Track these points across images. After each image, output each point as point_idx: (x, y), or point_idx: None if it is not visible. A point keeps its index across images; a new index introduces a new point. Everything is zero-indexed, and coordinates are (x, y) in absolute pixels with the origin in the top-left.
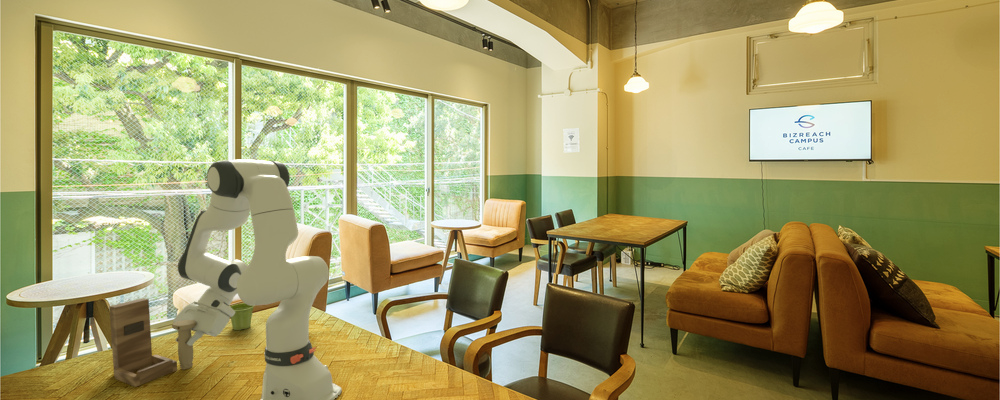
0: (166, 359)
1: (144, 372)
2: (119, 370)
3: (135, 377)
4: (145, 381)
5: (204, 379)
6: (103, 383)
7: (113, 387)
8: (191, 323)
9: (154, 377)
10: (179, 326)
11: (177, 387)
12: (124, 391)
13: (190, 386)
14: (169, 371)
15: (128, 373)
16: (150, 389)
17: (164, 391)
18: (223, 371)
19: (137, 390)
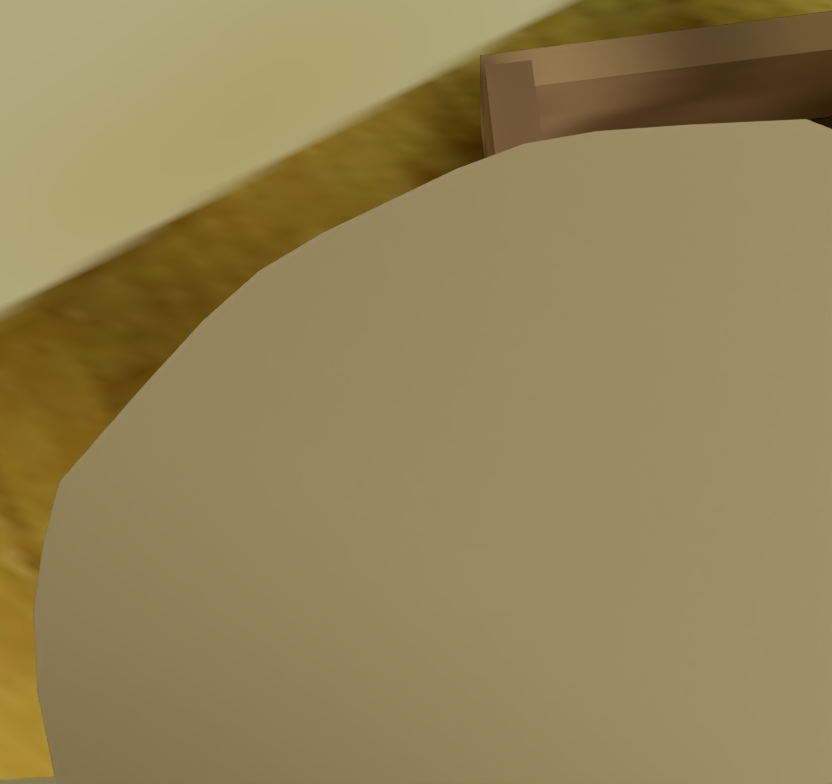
0: None
1: (490, 127)
2: (812, 23)
3: (480, 65)
4: None
5: (44, 524)
6: (810, 6)
7: (639, 29)
8: (97, 669)
9: None
10: (345, 246)
11: (131, 311)
12: (470, 55)
13: (39, 381)
14: None
15: (635, 48)
16: (311, 175)
17: (163, 223)
18: (21, 744)
19: (392, 114)
